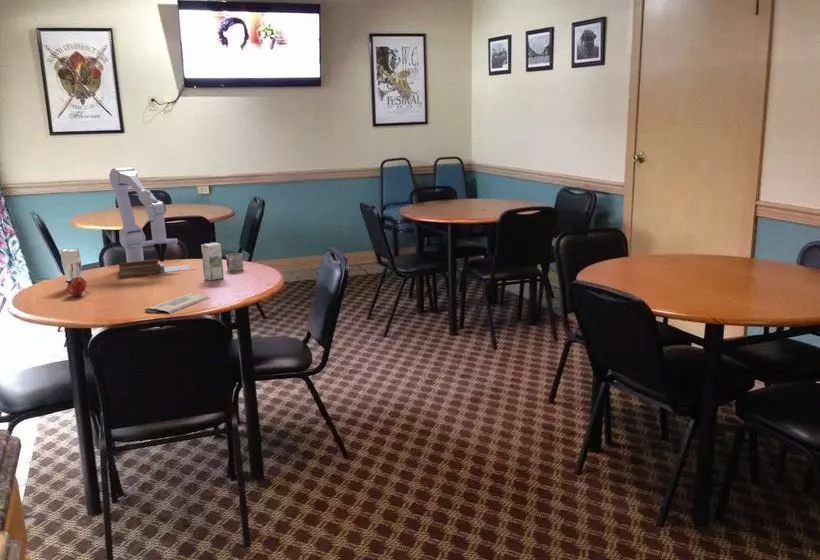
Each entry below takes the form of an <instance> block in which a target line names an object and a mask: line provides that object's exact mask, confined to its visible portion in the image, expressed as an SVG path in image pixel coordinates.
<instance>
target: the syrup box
mask: <svg viewBox="0 0 820 560" xmlns="http://www.w3.org/2000/svg"><path fill="white" fill-rule="evenodd" d="M200 247H201V256H202V257H201V258H202V267H203V277H204V280H206V279H208V280H207V281H211V280H212V281H217V280H216V279H218V280H221V278H223V279H224V268H223V267H224V266H223V254H222V244H221V243H218V242H209V243H204V244H200Z"/></svg>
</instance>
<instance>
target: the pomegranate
mask: <svg viewBox="0 0 820 560" xmlns="http://www.w3.org/2000/svg"><path fill="white" fill-rule="evenodd" d="M65 283H66V290H67V292H68V293H69V294H70V295H71V296H73V297H76V296H79V297H81V296H82V295H83V293H87V294H89V293H90V292H88V291H86V288H87V281H86V279H84V277H82V276H81V277H75V278H73V279H72V280H70V281H67V280H66V281H65ZM67 283H68V285H67Z"/></svg>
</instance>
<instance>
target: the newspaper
mask: <svg viewBox="0 0 820 560" xmlns="http://www.w3.org/2000/svg"><path fill="white" fill-rule="evenodd" d="M209 297H210V296H208V295H204V294H199V293H190V292H189V293H185V294H183V295H182V294H181V295H179V296H176V297H174V298H171V299H169V300H165V301H163V302H161V303H158V304H155V305H152V306H149V307H146V308H145V309H144V312H146V313H157V312H160V311H164V312H167V313H169V314H170V315H171V314H173V313H175V312H178V311H182V310H184V309H185V308H188V307H191V306H193V305H196V304H198V302H199V303H200V301H201V302H203V300H204V301H206V300H208V299H210V298H209ZM207 298H208V299H207ZM205 299H206V300H205Z"/></svg>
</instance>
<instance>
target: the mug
mask: <svg viewBox="0 0 820 560" xmlns="http://www.w3.org/2000/svg"><path fill="white" fill-rule="evenodd" d="M225 257H226V259H225V260H226V269H227V272H230V271H235V272H240V271H243V270H244V262H243V254H242V253H239V252H234V253H228V254H226V255H225Z"/></svg>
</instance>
